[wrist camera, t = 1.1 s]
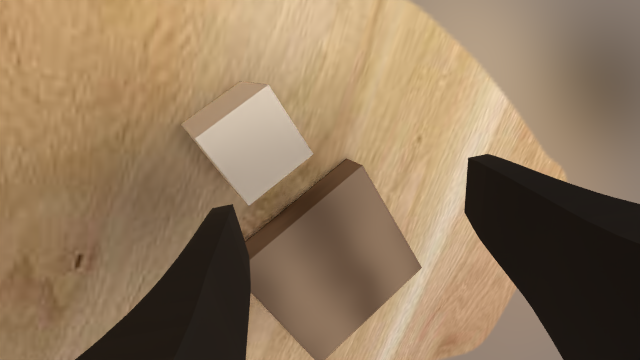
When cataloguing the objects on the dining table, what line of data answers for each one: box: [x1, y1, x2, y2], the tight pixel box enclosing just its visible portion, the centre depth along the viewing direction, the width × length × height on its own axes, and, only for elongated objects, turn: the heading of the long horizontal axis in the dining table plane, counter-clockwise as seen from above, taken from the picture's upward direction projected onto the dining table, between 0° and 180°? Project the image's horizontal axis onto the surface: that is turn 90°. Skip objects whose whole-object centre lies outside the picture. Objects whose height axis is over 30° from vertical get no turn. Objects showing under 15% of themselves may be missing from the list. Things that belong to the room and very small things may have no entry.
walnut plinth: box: [245, 159, 422, 360], centre depth 26 cm, size 10×10×2 cm
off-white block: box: [181, 82, 313, 205], centre depth 20 cm, size 4×4×5 cm
